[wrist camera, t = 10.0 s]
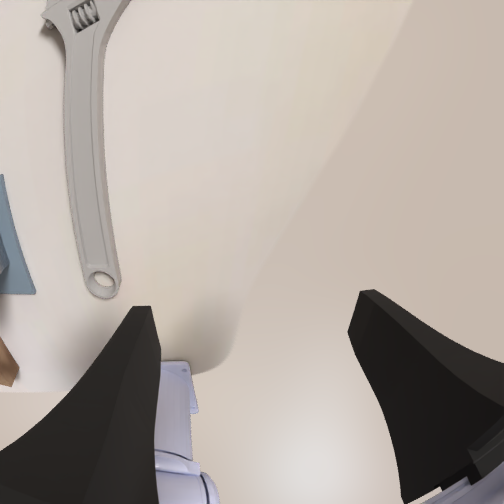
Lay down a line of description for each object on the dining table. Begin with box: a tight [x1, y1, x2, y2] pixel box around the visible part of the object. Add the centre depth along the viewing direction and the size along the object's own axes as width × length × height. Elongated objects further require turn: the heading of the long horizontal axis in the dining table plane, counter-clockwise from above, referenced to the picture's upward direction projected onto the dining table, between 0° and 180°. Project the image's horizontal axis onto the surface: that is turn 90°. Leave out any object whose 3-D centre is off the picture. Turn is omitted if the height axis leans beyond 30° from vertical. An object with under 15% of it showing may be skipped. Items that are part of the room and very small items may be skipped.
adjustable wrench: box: [41, 0, 131, 299], centre depth 14 cm, size 25×6×2 cm, turn 171°
